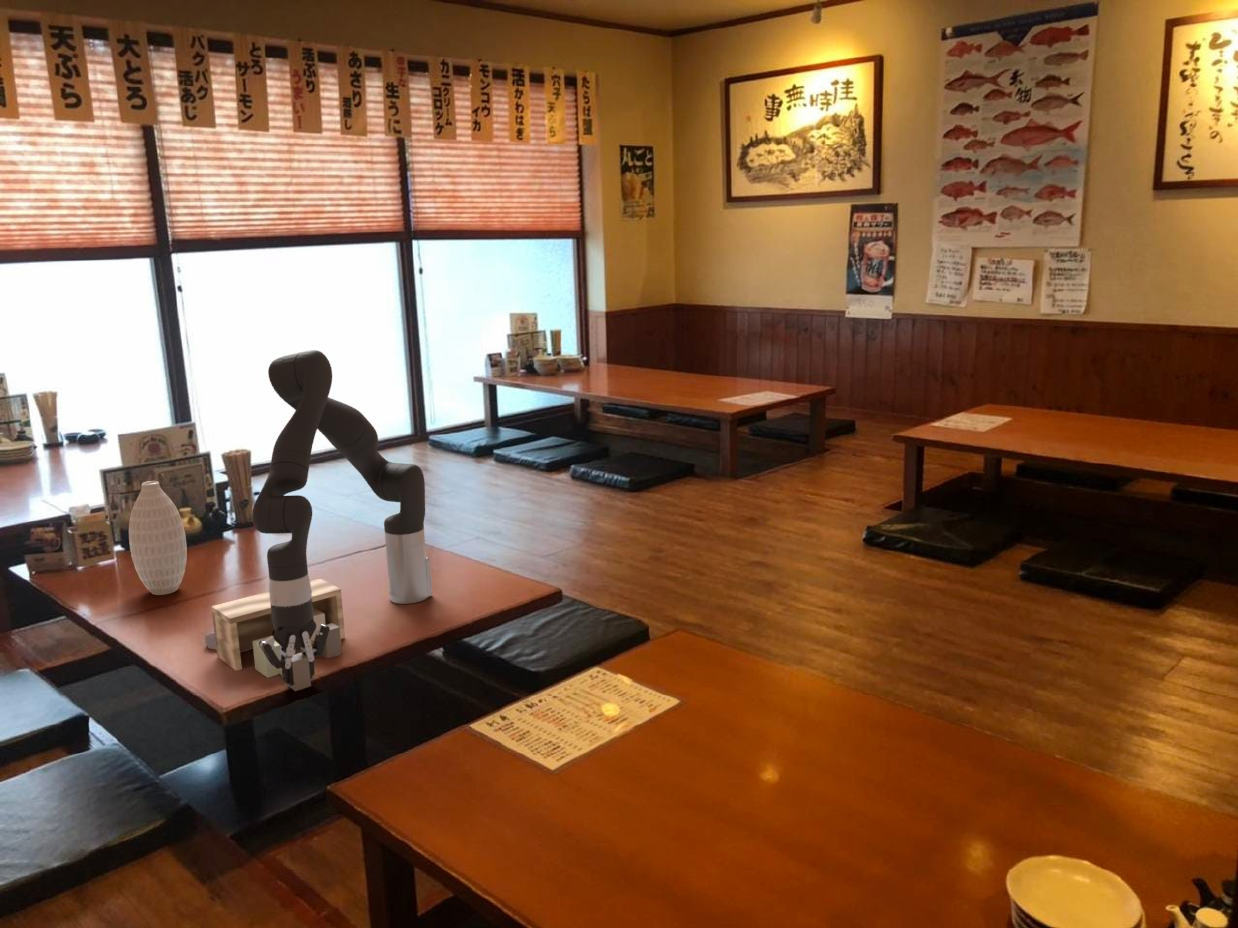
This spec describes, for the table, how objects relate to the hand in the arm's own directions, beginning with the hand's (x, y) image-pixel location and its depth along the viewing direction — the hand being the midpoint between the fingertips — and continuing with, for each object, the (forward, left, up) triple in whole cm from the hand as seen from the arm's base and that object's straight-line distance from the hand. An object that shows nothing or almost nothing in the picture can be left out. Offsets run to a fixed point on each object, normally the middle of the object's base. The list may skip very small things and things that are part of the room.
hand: (299, 681), depth 191 cm
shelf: (-6, -21, -1) cm, 22 cm away
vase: (0, -78, -1) cm, 78 cm away
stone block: (-1, -33, -2) cm, 33 cm away
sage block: (0, -6, -1) cm, 6 cm away
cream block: (-12, -17, -1) cm, 20 cm away
